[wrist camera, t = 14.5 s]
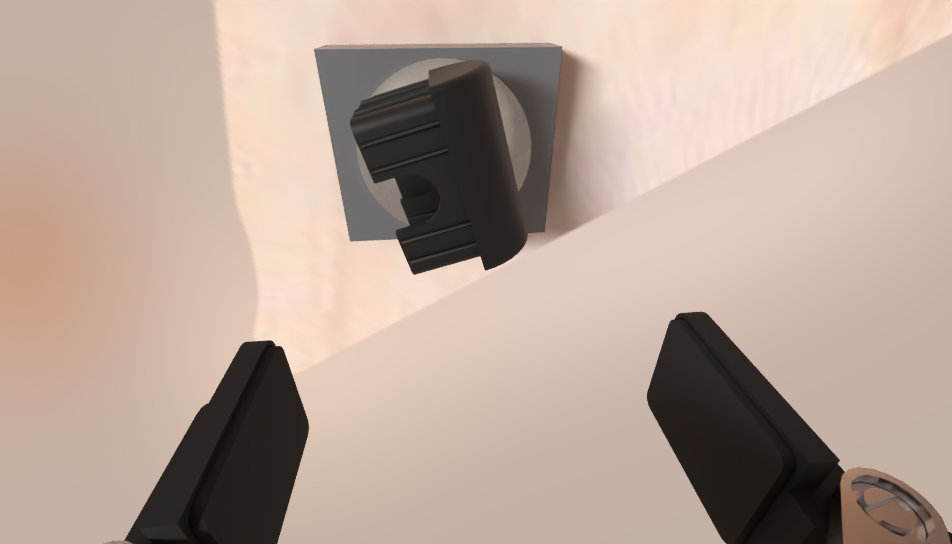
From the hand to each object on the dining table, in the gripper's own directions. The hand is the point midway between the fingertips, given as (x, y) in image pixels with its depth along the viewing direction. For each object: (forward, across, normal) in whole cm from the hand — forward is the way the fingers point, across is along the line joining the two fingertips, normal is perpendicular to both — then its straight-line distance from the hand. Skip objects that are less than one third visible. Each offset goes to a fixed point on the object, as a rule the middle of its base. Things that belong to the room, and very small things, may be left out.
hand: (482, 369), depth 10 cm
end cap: (+19, 0, 0) cm, 19 cm away
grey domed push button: (+22, 0, 0) cm, 22 cm away
